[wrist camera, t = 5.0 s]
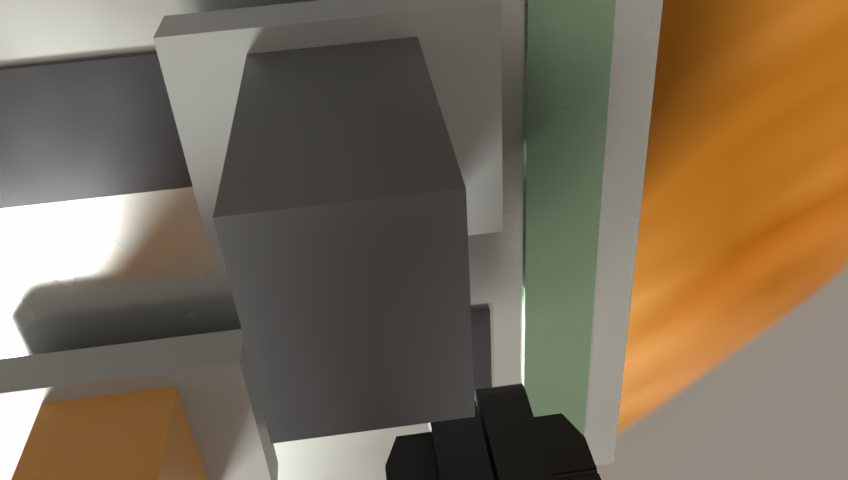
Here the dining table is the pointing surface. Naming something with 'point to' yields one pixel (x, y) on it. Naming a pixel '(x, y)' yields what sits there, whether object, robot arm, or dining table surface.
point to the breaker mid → (345, 196)
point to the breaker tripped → (136, 413)
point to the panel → (209, 285)
